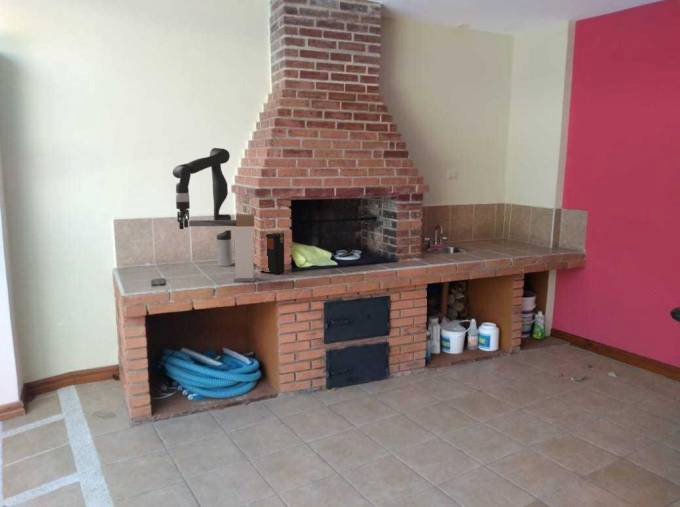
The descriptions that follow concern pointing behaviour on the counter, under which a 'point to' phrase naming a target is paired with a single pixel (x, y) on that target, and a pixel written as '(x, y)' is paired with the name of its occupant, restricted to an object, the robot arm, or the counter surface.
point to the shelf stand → (241, 251)
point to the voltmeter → (275, 252)
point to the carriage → (226, 221)
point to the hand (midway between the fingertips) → (183, 228)
